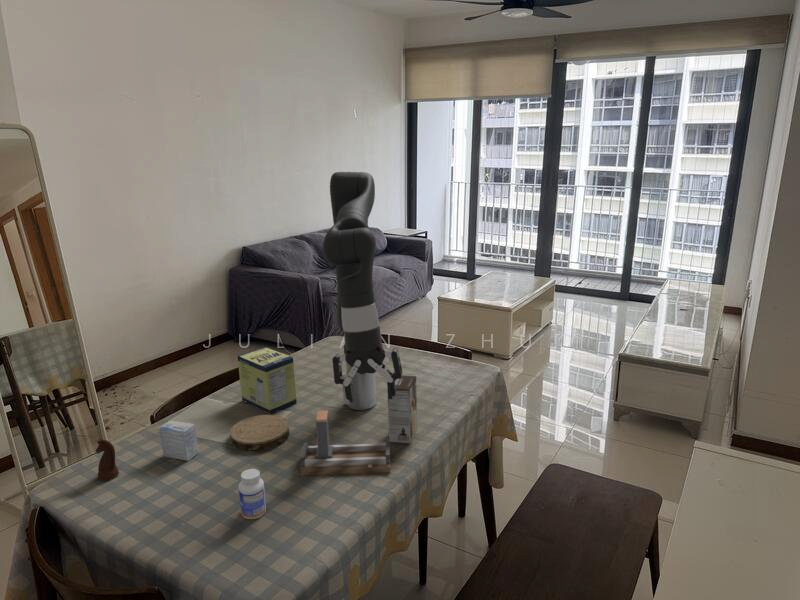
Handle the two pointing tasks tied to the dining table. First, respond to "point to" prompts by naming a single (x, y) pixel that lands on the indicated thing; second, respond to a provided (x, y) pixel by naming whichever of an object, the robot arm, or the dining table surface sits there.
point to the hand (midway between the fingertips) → (371, 399)
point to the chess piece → (106, 461)
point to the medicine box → (179, 440)
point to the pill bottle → (252, 494)
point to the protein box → (267, 379)
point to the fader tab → (323, 436)
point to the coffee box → (403, 410)
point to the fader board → (347, 459)
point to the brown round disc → (259, 433)
